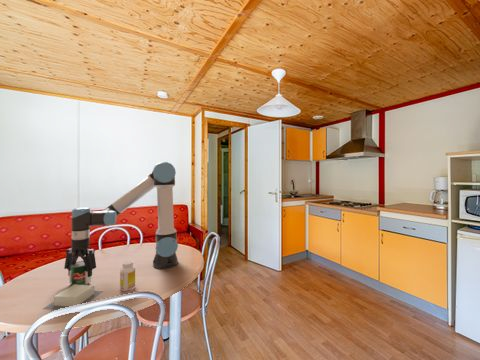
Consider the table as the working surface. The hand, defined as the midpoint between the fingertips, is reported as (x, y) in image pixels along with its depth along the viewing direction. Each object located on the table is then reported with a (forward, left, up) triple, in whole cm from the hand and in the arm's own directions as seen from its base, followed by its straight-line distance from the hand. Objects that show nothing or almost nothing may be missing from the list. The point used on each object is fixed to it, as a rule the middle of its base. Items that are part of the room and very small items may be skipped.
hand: (80, 282), depth 107 cm
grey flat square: (-9, +13, -1) cm, 16 cm away
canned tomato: (0, 0, -1) cm, 1 cm away
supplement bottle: (-26, +1, -2) cm, 26 cm away
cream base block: (-9, +13, -1) cm, 16 cm away
